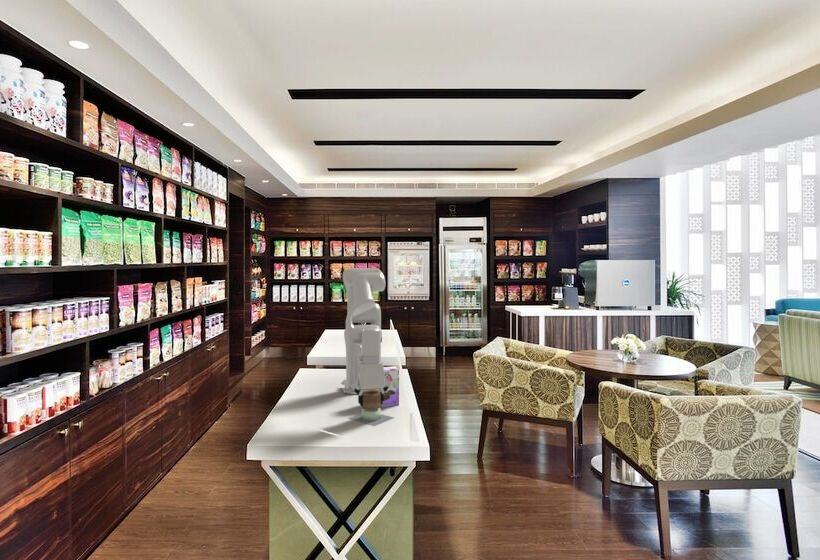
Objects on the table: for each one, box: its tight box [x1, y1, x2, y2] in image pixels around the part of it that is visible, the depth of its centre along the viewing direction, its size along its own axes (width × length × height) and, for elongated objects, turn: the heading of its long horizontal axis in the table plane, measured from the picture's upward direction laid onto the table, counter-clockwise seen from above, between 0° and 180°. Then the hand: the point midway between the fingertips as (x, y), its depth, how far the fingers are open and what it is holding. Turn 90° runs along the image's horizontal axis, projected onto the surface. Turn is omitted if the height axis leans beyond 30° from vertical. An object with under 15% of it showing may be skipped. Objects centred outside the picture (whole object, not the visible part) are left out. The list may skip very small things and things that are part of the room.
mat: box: [347, 413, 395, 427], centre depth 183 cm, size 14×12×1 cm
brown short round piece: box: [361, 389, 381, 410], centre depth 183 cm, size 7×7×6 cm
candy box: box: [375, 366, 400, 408], centre depth 200 cm, size 14×6×16 cm, turn 105°
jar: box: [360, 407, 382, 421], centre depth 183 cm, size 8×8×7 cm
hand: (371, 403), depth 183 cm, fingers closed on brown short round piece, 7 cm apart
